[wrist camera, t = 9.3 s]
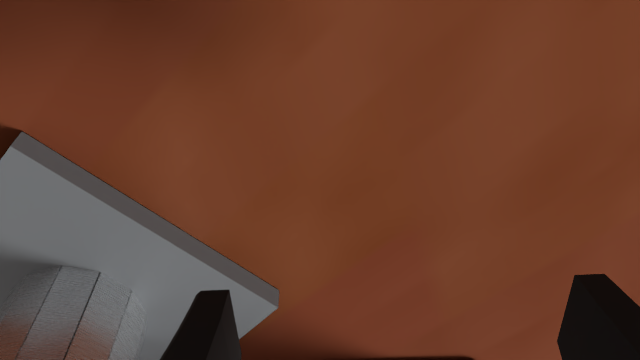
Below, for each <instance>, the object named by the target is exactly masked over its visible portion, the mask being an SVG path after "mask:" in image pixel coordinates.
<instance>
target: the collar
mask: <svg viewBox="0 0 640 360" xmlns="http://www.w3.org/2000/svg"><path fill="white" fill-rule="evenodd" d="M146 323H147V313H146V311H145V310H144V308H143V307H142V305H141V304H140V302H139V301H138V299H137V297H136V296H135V294H134V293H133V291H131V289H129V288H127V287H125V286H124V285H122V284H120V283H119V282H117V281H115V280H114V279H112V278H110V277H108V276H107V275H105V274H103V273H102V272H101V273H100V272H99V271H93V270H87V269H81V268H75V267H69V266H64V265H63V266H61V265H60V266H56V267H52V268H47V269H43V270H39V271H34V272H30V273H28V274H27V275H26V276H25V277H24V278H23V279H22V280H21V281H20V282H19V283H18V284H17V285H16V286H15V287H14V288H13V289H12V290H11V291H10V293H9V295H8V296H7V298H6V300H5V302H4V303H3V305H2V307H1V309H0V360H138V358H139V354H140V351H141V348H142V344H143V341H144V337H145V330H146Z"/></svg>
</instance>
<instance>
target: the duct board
mask: <svg viewBox="0 0 640 360" xmlns="http://www.w3.org/2000/svg"><path fill="white" fill-rule="evenodd" d="M60 265H61V266H63V265H64V266H69V267H75V268H81V269H87V270H93V271H99V272H100V273H101V272H102V273H103V274H105V275H107V276H108V277H110V278H112V279H114V280H115V281H117V282H119V283H120V284H122V285H124V286H125V287H127V288H129V289H131V291H133V293H134V294H135V296H136V297H137V299H138V301H139V302H140V304H141V305H142V307H143V308H144V310H145V311H146V313H147V323H146V330H145V337H144V341H143V344H142V348H141V351H140V354H139V358H138V360H160V358H161V357H162V355H163V353H164V352H165V350H166V349H167V347H168V345H169V344H170V342H171V340H172V339H173V337H174V335H175V333H176V332H177V330H178V328H179V326H180V325H181V323H182V321H183V319H184V317H185V316H186V314H187V312H188V310H189V308H190V306H191V304H192V302H193V300H194V298H195V296H196V295H197V294H198V293H199V292H200V291H206V290H230V296H231V301H232V306H233V311H234V317H235V322H236V327H237V333H238V338H239V339H240V338H241V337H243V336H244V335H245V334H246V333H248V332H249V331H250V330H251V329H252V328H254V327H255V326H256V325H257V324H259V323H260V322H261V321H262V320H264V319H265V318H266V317H267V316H268V315H270V314H271V313H272V312H273V311H275V310H276V309H277V308H278V302H279V290H278V289H276V288H274V287H273V286H271V285H269V284H268V283H266V282H265V281H263V280H261V279H260V278H258V277H257V276H255V275H253V274H252V273H250V272H248V271H247V270H245V269H244V268H242V267H240V266H239V265H237V264H236V263H234V262H232V261H231V260H229V259H227V258H226V257H224V256H223V255H221V254H219V253H218V252H216V251H215V250H213V249H211V248H210V247H208V246H206V245H205V244H203V243H202V242H200V241H198V240H197V239H195V238H194V237H192V236H190V235H189V234H187V233H185V232H184V231H182V230H181V229H179V228H177V227H176V226H174V225H173V224H171V223H169V222H168V221H166V220H164V219H163V218H161V217H160V216H158V215H156V214H155V213H153V212H151V211H150V210H148V209H147V208H145V207H143V206H142V205H140V204H139V203H137V202H135V201H134V200H132V199H130V198H129V197H127V196H126V195H124V194H122V193H121V192H119V191H118V190H116V189H114V188H113V187H111V186H109V185H108V184H106V183H105V182H103V181H101V180H100V179H98V178H97V177H95V176H93V175H92V174H90V173H88V172H87V171H85V170H84V169H82V168H80V167H79V166H77V165H76V164H74V163H72V162H71V161H69V160H67V159H66V158H64V157H63V156H61V155H59V154H58V153H56V152H55V151H53V150H51V149H50V148H48V147H46V146H45V145H43V144H42V143H40V142H38V141H37V140H35V139H34V138H32V137H30V136H29V135H27V134H25V133H24V132H21V133H20V134H19V136H18V137H17V138H16V139H15V141H14V142H13V143H12V145H11V146H10V147H9V149H8V150H7V151H6V153H5V154H4V156H3V157H2V158H1V160H0V309H1V307H2V305H3V303H4V302H5V300H6V298H7V296H8V295H9V293H10V291H11V290H12V289H13V288H14V287H15V286H16V285H17V284H18V283H19V282H20V281H21V280H22V279H23V278H24V277H25V276H26V275H27V274H28V273H30V272H34V271H39V270H43V269H47V268H52V267H56V266H60Z"/></svg>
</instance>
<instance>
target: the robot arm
mask: <svg viewBox="0 0 640 360" xmlns="http://www.w3.org/2000/svg"><path fill="white" fill-rule="evenodd" d="M557 342H558V346H559V350H560V353H561V357H562V360H640V307H639V306H638V305H637V304H636V303H635V302H634V301H633V300H632V299H631V298H630V297H628V296H627V295H626V294H625V293H624V292H623V291H622V290H621V289H620V288H619V287H618V286H617V285H616V284H615V283H614V282H613V281H612V280H610V279H609V278H608V277H607V276H606V275H605V274H590V275H575V276H574V279H573V283H572V287H571V291H570V294H569V298H568V302H567V306H566V310H565V313H564V317H563V321H562V325H561V328H560V332H559V336H558V340H557ZM160 360H241V348H240V343H239V338H238V333H237V327H236V322H235V317H234V311H233V306H232V301H231V296H230V290H206V291H200V292H199V293H198V294H197V295H196V296H195V298H194V300H193V302H192V304H191V306H190V308H189V310H188V312H187V314H186V316H185V317H184V319H183V321H182V323H181V325H180V326H179V328H178V330H177V332H176V333H175V335H174V337H173V339H172V340H171V342H170V344H169V345H168V347H167V349H166V350H165V352H164V353H163V355H162V357H161V358H160Z"/></svg>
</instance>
